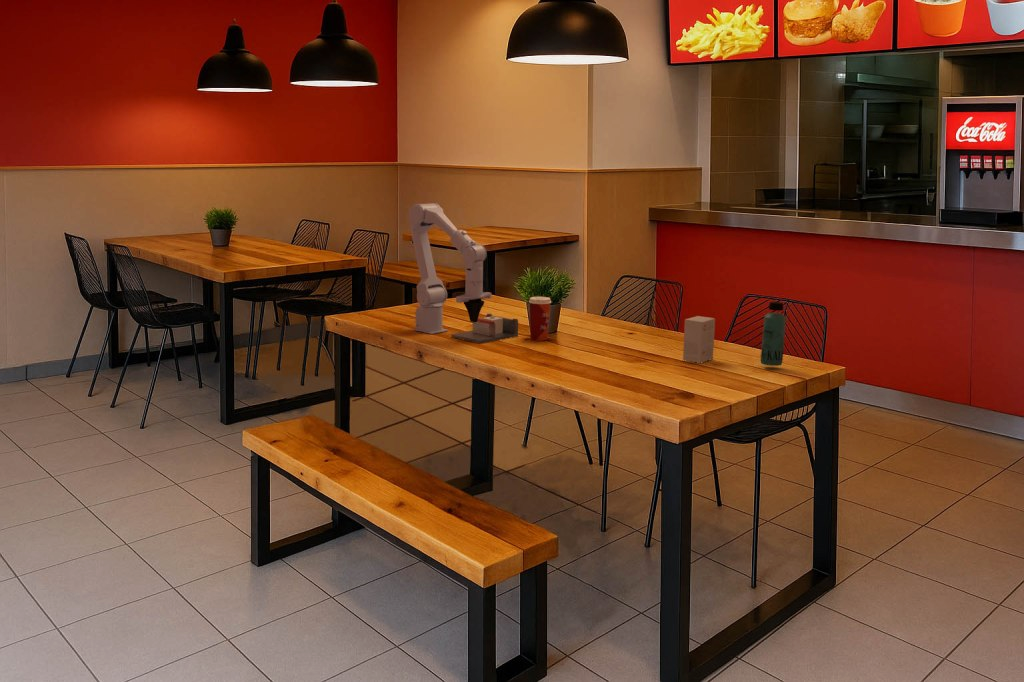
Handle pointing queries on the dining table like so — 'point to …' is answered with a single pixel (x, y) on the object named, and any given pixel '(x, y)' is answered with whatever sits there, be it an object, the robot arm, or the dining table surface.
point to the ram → (484, 327)
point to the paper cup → (539, 317)
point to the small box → (698, 339)
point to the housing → (498, 323)
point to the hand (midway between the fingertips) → (473, 321)
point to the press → (508, 331)
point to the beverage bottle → (773, 336)
